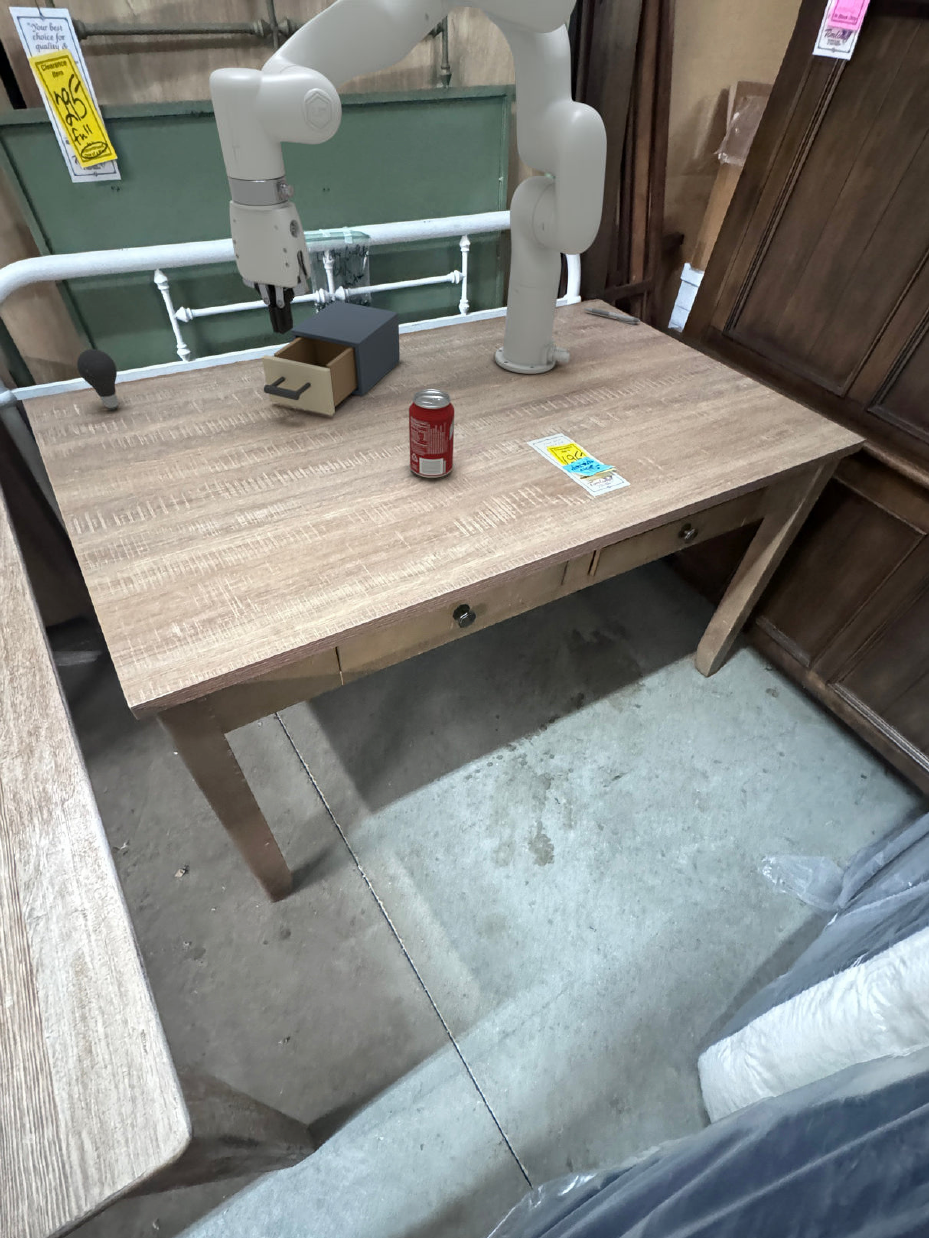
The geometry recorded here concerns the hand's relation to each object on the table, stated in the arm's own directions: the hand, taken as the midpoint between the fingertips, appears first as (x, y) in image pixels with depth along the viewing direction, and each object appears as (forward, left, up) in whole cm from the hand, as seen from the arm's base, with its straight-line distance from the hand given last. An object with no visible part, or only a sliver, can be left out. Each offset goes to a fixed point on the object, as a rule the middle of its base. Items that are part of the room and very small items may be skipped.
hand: (283, 330), depth 96 cm
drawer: (+1, -7, -14) cm, 16 cm away
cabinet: (+1, -21, -15) cm, 26 cm away
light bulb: (+31, +10, -15) cm, 36 cm away
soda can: (-27, +5, -15) cm, 32 cm away
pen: (-41, -74, -15) cm, 86 cm away
